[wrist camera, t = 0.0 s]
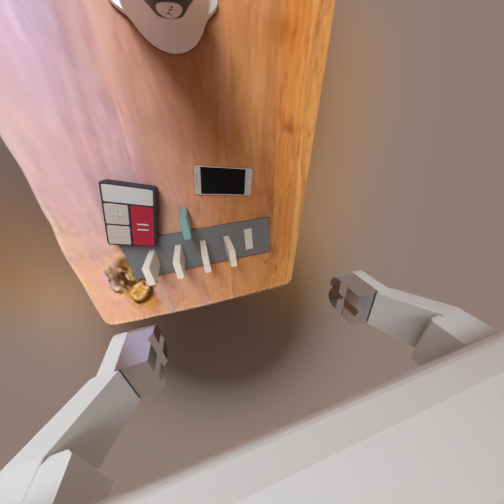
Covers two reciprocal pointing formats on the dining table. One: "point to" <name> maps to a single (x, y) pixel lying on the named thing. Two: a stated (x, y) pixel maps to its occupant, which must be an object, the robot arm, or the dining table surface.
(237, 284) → the dining table surface
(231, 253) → the domino
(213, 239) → the domino mat
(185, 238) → the domino
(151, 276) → the domino
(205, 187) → the smartphone
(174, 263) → the domino
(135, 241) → the calculator
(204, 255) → the domino
